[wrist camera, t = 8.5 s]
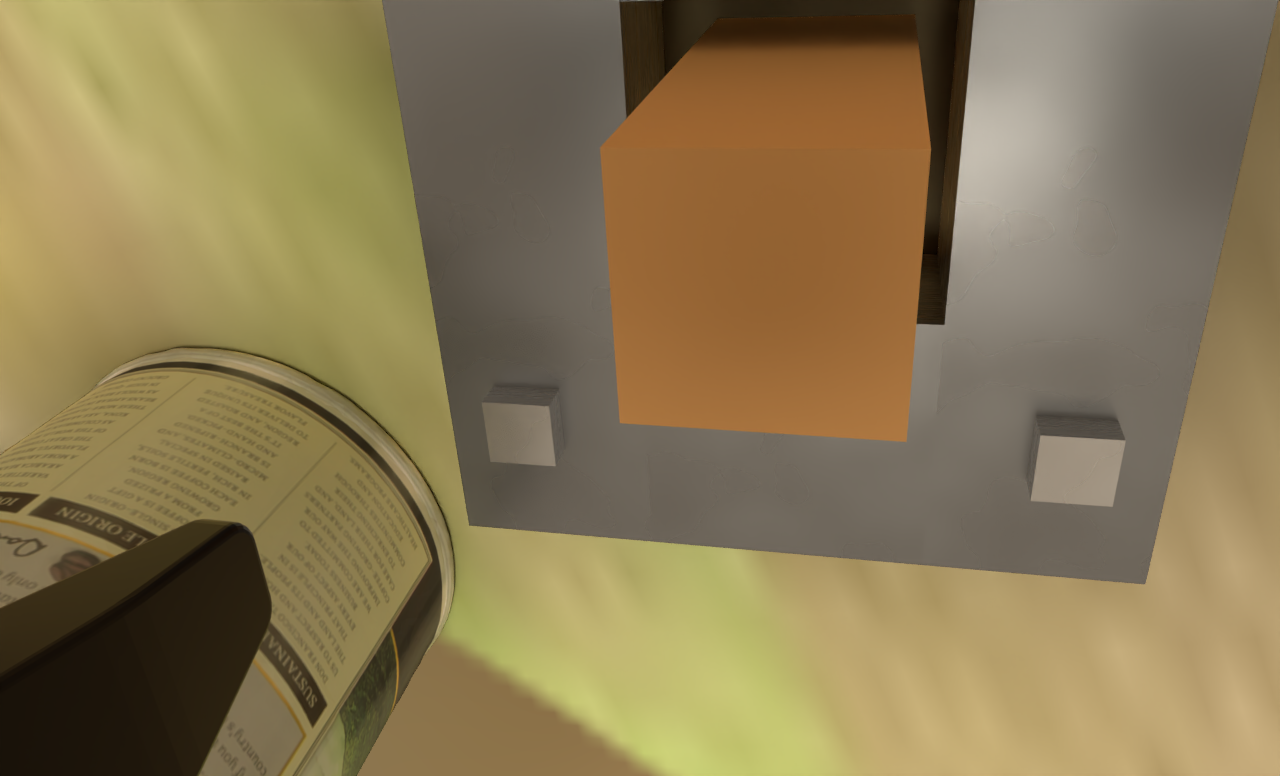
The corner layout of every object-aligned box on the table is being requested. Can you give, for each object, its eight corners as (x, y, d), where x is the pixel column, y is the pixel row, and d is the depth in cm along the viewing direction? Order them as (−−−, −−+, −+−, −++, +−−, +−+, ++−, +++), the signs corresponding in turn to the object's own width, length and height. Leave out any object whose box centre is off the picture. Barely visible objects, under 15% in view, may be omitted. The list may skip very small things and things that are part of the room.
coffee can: (498, 697, 26) (159, 1445, 14) (157, 673, 29) (-379, 1290, 17) (405, 334, 21) (-227, 990, 9) (6, 345, 24) (-893, 871, 12)
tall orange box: (914, 14, 16) (930, 149, 9) (900, 206, 18) (906, 442, 11) (717, 18, 17) (600, 148, 10) (720, 202, 19) (620, 423, 12)
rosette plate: (1292, -437, 13) (1419, -520, 10) (1112, 484, 19) (1152, 608, 16) (415, -341, 15) (296, -384, 12) (518, 444, 22) (457, 544, 19)
